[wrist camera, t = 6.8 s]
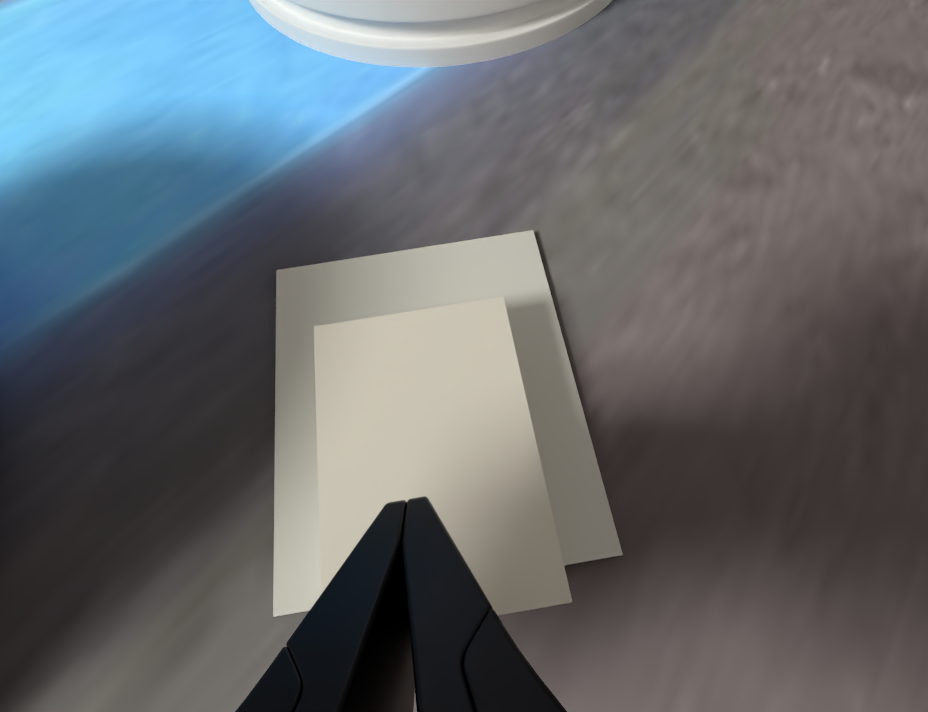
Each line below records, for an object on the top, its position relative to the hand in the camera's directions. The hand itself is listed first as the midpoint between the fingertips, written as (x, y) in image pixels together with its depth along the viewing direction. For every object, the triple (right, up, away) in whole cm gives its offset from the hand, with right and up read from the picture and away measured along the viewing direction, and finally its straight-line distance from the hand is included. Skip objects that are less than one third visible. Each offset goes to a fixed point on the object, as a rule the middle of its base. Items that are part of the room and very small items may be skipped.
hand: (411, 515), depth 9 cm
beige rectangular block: (+1, -5, +4) cm, 6 cm away
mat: (-1, +2, +9) cm, 9 cm away
